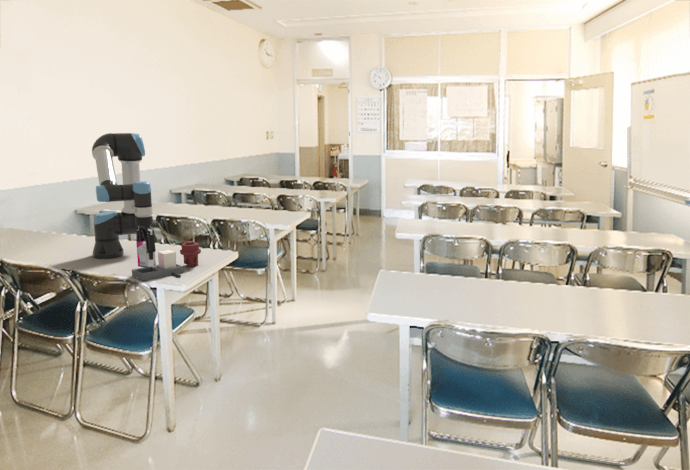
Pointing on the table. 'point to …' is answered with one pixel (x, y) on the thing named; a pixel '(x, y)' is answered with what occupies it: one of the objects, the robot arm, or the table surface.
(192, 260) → the mechanical component
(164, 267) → the grey double recess tray
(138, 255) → the supplement box
